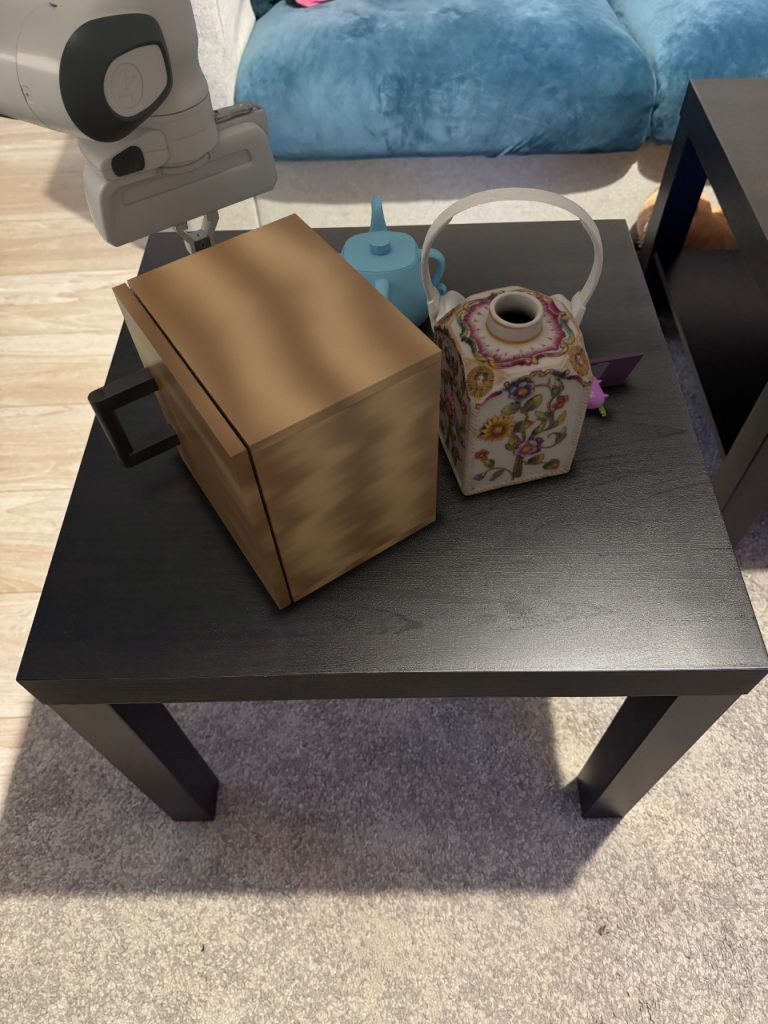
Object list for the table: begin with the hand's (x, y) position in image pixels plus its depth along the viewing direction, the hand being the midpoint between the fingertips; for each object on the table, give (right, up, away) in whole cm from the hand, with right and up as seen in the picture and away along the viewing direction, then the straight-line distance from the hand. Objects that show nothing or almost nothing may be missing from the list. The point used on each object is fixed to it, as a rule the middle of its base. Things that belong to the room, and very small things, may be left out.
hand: (201, 249), depth 83 cm
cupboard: (+13, -27, -8) cm, 31 cm away
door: (+3, -32, -12) cm, 35 cm away
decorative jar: (+33, -23, -6) cm, 40 cm away
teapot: (+21, -5, +7) cm, 23 cm away
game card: (+43, -18, -3) cm, 47 cm away
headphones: (+34, -11, +2) cm, 36 cm away
